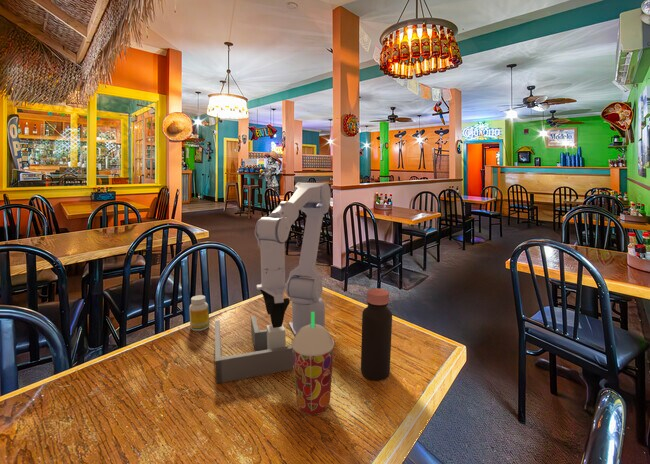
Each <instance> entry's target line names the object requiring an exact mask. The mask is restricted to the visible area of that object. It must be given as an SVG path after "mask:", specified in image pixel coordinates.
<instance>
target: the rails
mask: <svg viewBox="0 0 650 464" xmlns="http://www.w3.org/2000/svg"><path fill="white" fill-rule="evenodd" d="M220 324H221V323H220V320H215V321H214V360H215V362H214V363H215V376H216V377H215V378H216V381H215V382H216V384H222V383H226V382H232V381H238V380H244V379H248V378H254V377H258V376H259V377H260V376H264V375H269V374H270V375H271V374H275V373H280V372H285V371H291V370H294V365H293V353H292V346H291V345H287V346H286V347H280V348H274V349H268V350H267V328H265V329H259V326H258V322H257V318H256V316H255V315H251V316H250V332H251V333H250V334H251V338H252V342H253V346H254V350H255V351H251V352H244V353H239V354H233V355H226V356H222V347H221V346H222V345H221V343H222V341H221V325H220Z"/></svg>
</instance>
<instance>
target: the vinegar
mask: <svg viewBox="0 0 650 464" xmlns="http://www.w3.org/2000/svg"><path fill="white" fill-rule="evenodd" d="M389 300H390V292H389V291H388V290H386V289H385V288H380V287H379V288H377V287H376V288H370V289H368V290H367V291H366V303H367V306H366V307H365V308H364V309H363V310H362V312H361V313H362V315H361V345H360V347H361V349H360V350H361V351H360V353H361V354H360V372H361V374H362V376H363V377H364V378H366V379H368V380H370V381H375V382H376V381H384V380H386V379H387V378H389V376H390V374H391V372H390V371H391V357H392V356H391V353H392V352H391V351H392V332H393V330H392V329H393V312H392V311H391V309H389V308H388V305H389V303H390V301H389Z"/></svg>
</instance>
